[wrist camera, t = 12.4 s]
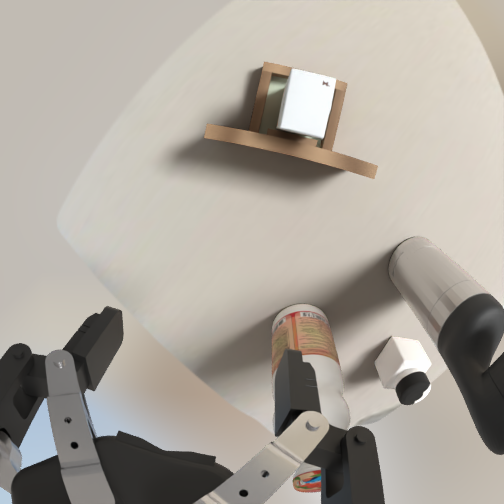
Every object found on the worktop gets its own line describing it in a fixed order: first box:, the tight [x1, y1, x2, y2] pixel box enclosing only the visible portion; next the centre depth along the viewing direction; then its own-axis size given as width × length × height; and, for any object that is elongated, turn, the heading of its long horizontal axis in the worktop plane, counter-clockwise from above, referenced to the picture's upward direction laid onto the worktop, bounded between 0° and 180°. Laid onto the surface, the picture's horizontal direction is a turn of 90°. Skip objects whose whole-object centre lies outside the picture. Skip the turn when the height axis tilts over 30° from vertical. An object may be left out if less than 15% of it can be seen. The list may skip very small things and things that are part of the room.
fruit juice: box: [272, 304, 350, 492], centre depth 34 cm, size 9×9×28 cm
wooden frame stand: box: [204, 62, 378, 179], centre depth 30 cm, size 18×11×9 cm, turn 78°
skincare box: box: [276, 68, 336, 139], centre depth 28 cm, size 6×4×12 cm
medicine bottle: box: [374, 336, 431, 405], centre depth 43 cm, size 7×7×12 cm
